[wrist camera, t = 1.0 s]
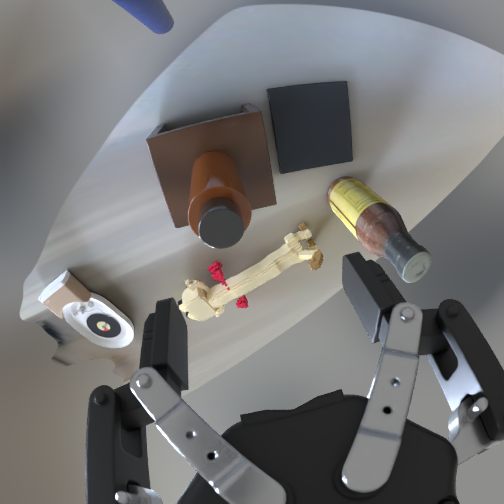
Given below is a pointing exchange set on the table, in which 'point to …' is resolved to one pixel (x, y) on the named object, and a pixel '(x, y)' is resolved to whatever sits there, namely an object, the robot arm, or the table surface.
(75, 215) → the table surface
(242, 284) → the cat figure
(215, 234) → the spice bottle
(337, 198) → the sauce bottle
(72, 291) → the record player
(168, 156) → the brown open box
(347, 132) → the mat
